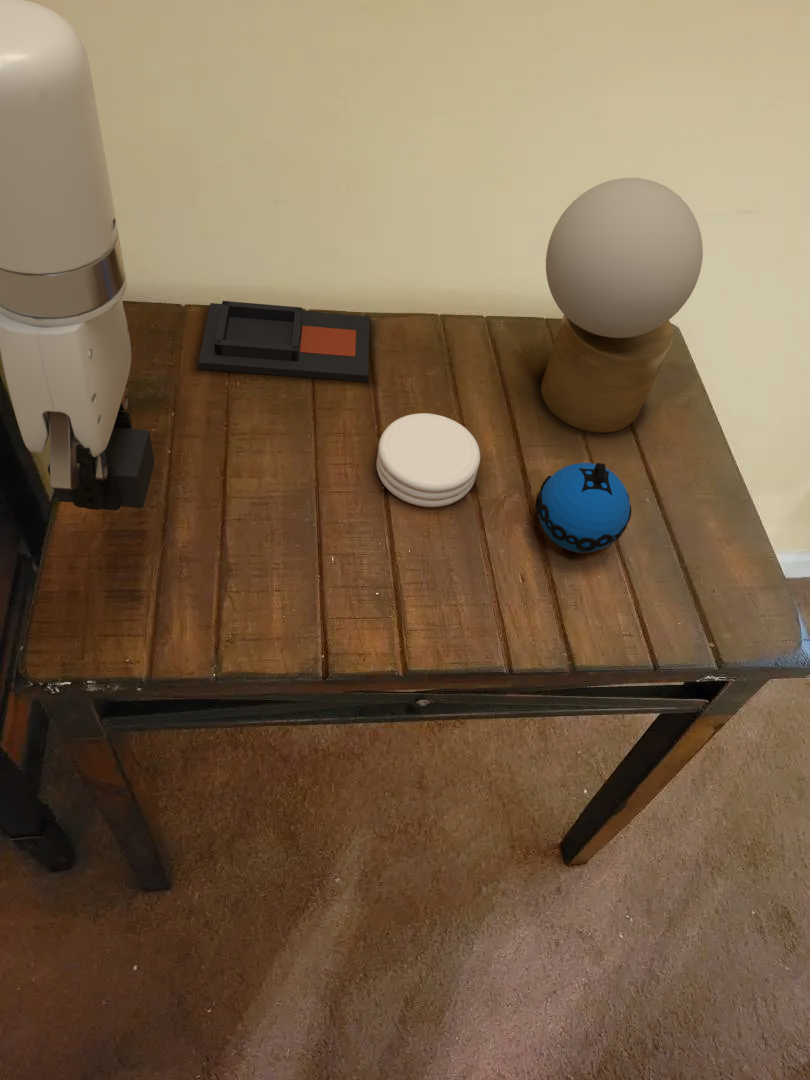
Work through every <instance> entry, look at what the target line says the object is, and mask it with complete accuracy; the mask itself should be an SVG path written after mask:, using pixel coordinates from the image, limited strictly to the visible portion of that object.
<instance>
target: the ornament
mask: <svg viewBox="0 0 810 1080" xmlns="http://www.w3.org/2000/svg"><path fill="white" fill-rule="evenodd" d="M534 511H535V513H536V514H537V515H538V518H539V523H540V525H541V527H542V529H543V531H544V532H545V534H546V535H547V537H548V538H549V539H550V540H551V541H552V542H554V543H555V544H556V545H557V546H559V547H561V548H563V549H565V550H567V551H570V552H574V553H583V554H584V553H586V554H587V553H593V552H597V551H600V550H603V549H605V548H606V547H608V546H610V545H611V544H613V543H614V542H615V541H618V540H619V539H620V537H622V535H623V533H625V531H626V529H627V527H628V524H629V522H630V520H631V517H632V505H631V503H630V495H629V493H628V490H627V488H626V486H625V485H624V483H623V482H622V481H621V479H620V478H619V477H618V475H617V474H615V473H614V472H613V471H611V470H610V469H609V468H607V467H606V464H605V463H602V462H596V463H591V462H578V463H573V464H569V465H566V466H563V467H562V468H561V469H559V470H557V471H556V472H555V473H554V474H552V475H548V476H547V477H546V478H545V479H544V480H543V482H542V484H541V486H540V490H539V493H537V495H536V498H535V505H534Z"/></svg>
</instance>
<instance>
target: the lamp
mask: <svg viewBox="0 0 810 1080" xmlns="http://www.w3.org/2000/svg"><path fill="white" fill-rule="evenodd" d="M554 225H555V226H554V228H553V230H552V232H551V234H550V237H549V240H548V244H547V249H546V255H545V256H546V257H545V275H546V281H547V285H548V289H549V292H550V294H551V296H552V299H553V301H554V302H555V304H556V306H557V307H558V309H559V310H560V312H561V313H562V314H563V316H562V319H561V323H560V325H559V329H558V332H557V334H556V337H555V341H554V344H553V347H552V349H551V353H550V355H549V359H548V362H547V364H546V369H545V371H544V374H543V377H542V380H541V384H540V391H541V396H542V399H543V402H544V404H545V406H547V408H548V410H549V411H550V412H551V413H552V414H553V415H554V416H555V417H557V418H558V419H559V420H560V421H562V422H563V423H565V424H567V425H569V426H570V427H573V428H575V429H578V430H581V431H586V432H590V433H597V434H609V433H614V432H619V431H621V430H623V429H625V428H627V427H629V426H630V425H631V424H632V423H633V422H634V421H636V419H637V418H638V416H639V413H640V411H641V409H642V407H643V405H644V403H645V401H646V400H647V396H648V395H649V393H650V390H651V388H652V386H653V384H654V381H655V379H656V377H657V376H658V373H659V372H660V369H661V367H662V365H663V364H664V363H663V362H664V360H665V358H666V356H667V354H668V352H669V350H670V349H671V346H672V343H673V341H674V328H673V326H672V323H671V321H670V320H671V319H672V318H673V317H674V316H675V315H676V314H678V313H679V312H680V310H681V309H682V308H683V306H684V305H685V304H686V303H687V302H688V300H689V298H690V297H691V295H692V293H693V292H694V290H695V288H696V285H697V283H698V282H699V281H698V280H699V277H700V274H701V270H702V265H703V257H704V256H703V255H704V246H703V245H704V244H703V238H702V233H701V228H700V226H699V223H698V221H697V218H696V217H695V213H694V212H693V211H692V209H691V208H690V206H689V204H687V202H685V200H684V199H683V198H682V197H681V196H680V195H679V194H677V193H676V192H675V191H674V190H672V189H671V188H669V187H668V186H666V185H664V184H662V183H660V182H657V181H654V180H651V179H648V178H647V179H646V178H640V177H620V178H615V179H611V180H607V181H605V182H602V183H599V184H597V185H595V186H593V187H590V188H589V189H588V190H586V191H585V192H583V193H581V194H580V195H579V196H578V197H577V198H576V199H574V200H573V201H572V202H571V203H570V204H569V205H568V206H567V207H566V209H564V211H563V213H562V214H561V216H560V217H559V218H558V220H557V222H556V223H555V224H554Z"/></svg>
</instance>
